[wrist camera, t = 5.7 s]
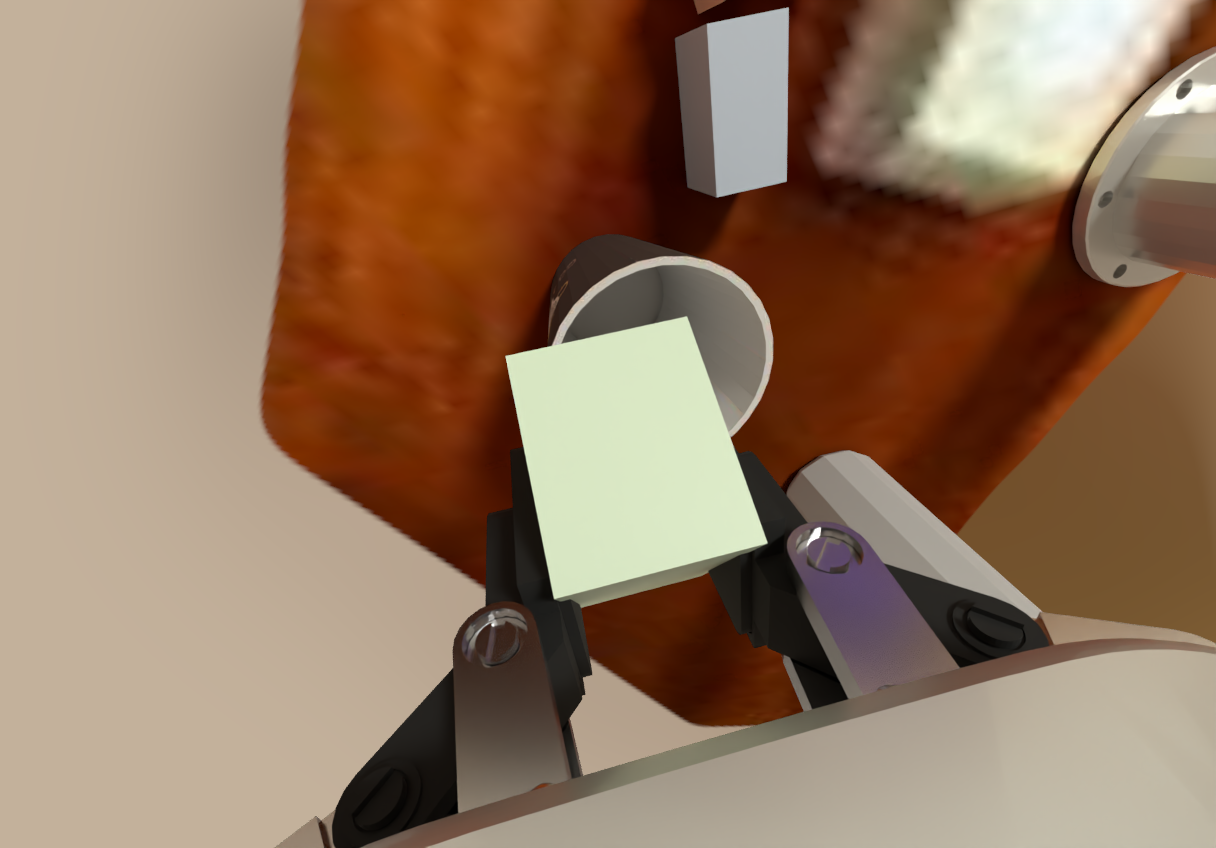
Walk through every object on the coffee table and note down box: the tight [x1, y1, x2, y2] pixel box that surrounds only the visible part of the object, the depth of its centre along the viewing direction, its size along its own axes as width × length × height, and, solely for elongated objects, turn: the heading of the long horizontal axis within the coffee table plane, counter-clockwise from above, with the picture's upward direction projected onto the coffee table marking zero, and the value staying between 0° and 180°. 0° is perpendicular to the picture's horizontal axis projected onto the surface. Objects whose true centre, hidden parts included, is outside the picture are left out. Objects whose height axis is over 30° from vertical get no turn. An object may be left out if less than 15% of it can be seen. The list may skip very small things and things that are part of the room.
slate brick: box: [675, 7, 789, 197], centre depth 22 cm, size 6×3×4 cm, turn 10°
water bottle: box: [787, 450, 1042, 618], centre depth 27 cm, size 9×8×25 cm
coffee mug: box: [548, 235, 773, 437], centre depth 24 cm, size 12×9×10 cm
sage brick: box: [506, 316, 767, 608], centre depth 11 cm, size 6×3×4 cm
